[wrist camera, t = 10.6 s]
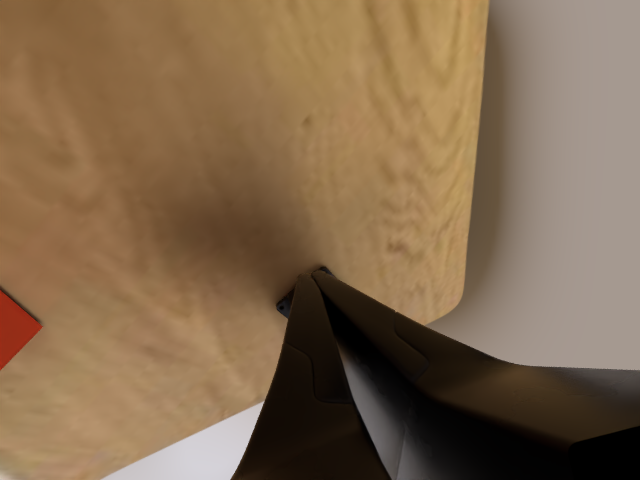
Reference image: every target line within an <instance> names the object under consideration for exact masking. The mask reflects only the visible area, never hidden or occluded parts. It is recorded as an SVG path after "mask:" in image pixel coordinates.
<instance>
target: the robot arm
mask: <svg viewBox="0 0 640 480" xmlns="http://www.w3.org/2000/svg"><path fill="white" fill-rule="evenodd" d="M323 271H326V272H323ZM280 306H283V307H280ZM276 307H277V310H278V311H279V312H280V313H281V314H283V315H284V316H285V317H286V318H288V323H287V328H286V332H285V336H284V341H283V344H282V349H281V353H280V357H279V361H278V364H277V368H276V371H275V374H274V377H273V380H272V383H271V386H270V389H269V391H268V394H267V396H266V399H265V402H264V404H263V407H262V410H261V412H260V415H259V417H258V420H257V423H256V425H255V428H254V430H253V433H252V435H251V438H250V441H249V443H248V446H247V448H246V451H245V453H244V455H243V457H242V459H241V461H240V464H239V465H238V468H237V469H236V471H235V473H234V475H233V476H232V478H231V480H640V370H617V369H592V368H565V367H542V366H526V365H519V364H514V363H509V362H506V361H503V360H500V359H497V358H495V357H492V356H490V355H488V354H485V353H483V352H481V351H479V350H476V349H474V348H472V347H470V346H467V345H465V344H463V343H461V342H458V341H456V340H454V339H451V338H449V337H447V336H445V335H443V334H440V333H438V332H436V331H434V330H432V329H430V328H427V327H425V326H423V325H421V324H419V323H417V322H416V321H414V320H412V319H410V318H408V317H406V316H404V315H402V314H400V313H399V312H396V313H395V310H393V309H391V308H389V307H387V306H386V305H384V304H382V303H380V302H378V301H376V300H375V299H373V298H371V297H369V296H367V295H365V294H364V293H362V292H360V291H358V290H356V289H355V288H353V287H351V286H349V285H347V284H345V283H344V282H342V281H340V280H338V279H337V278H336V277H335V276H334V275H333V274H332V273H331V272H330V271H329V270H328V269H327V268H326V267H322V268H320V269H319V270H318V271H315V272H311V274H310V273H306V274H301V275H299V276H298V279H297V283H296V288H295V289H293V290H292V291H291V292H290V293H289V294H288V295H287V296H285V297H284V298H283V299H282V300H281V301H279V302H278V303H277V305H276Z"/></svg>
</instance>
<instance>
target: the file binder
mask: <svg viewBox="0 0 640 480" xmlns="http://www.w3.org/2000/svg"><path fill="white" fill-rule="evenodd" d="M41 328H42V326H41V325H40V324H39V323H38V322H37V321H35V320H34V319H33V318H32V317H31V316H30V315H29V314H27V313H26V312H25V311H24V310H23V309H22V308H20V307H19V306H18V305H17V304H16V303H15V302H13V301H12V300H11V299H10V298H9V297H8V296H6V295H5V294H4V293H3V292H2V291H1V290H0V370H1V369H2V368H3V367H4V366H5V365H6V364H7V363H8V362H9V361H10V360H11V359H12V358H13V357H14V356H15V355H16V354H17V353H18V352H19V351H20V350H21V349H22V348H23V347H24V346H25V345H26V344H27V343H28V342H29V341H30V340H31V338H32V337H33V336H34V335H35V334H36V333H37V332H38V331H39V330H40V329H41Z"/></svg>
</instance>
